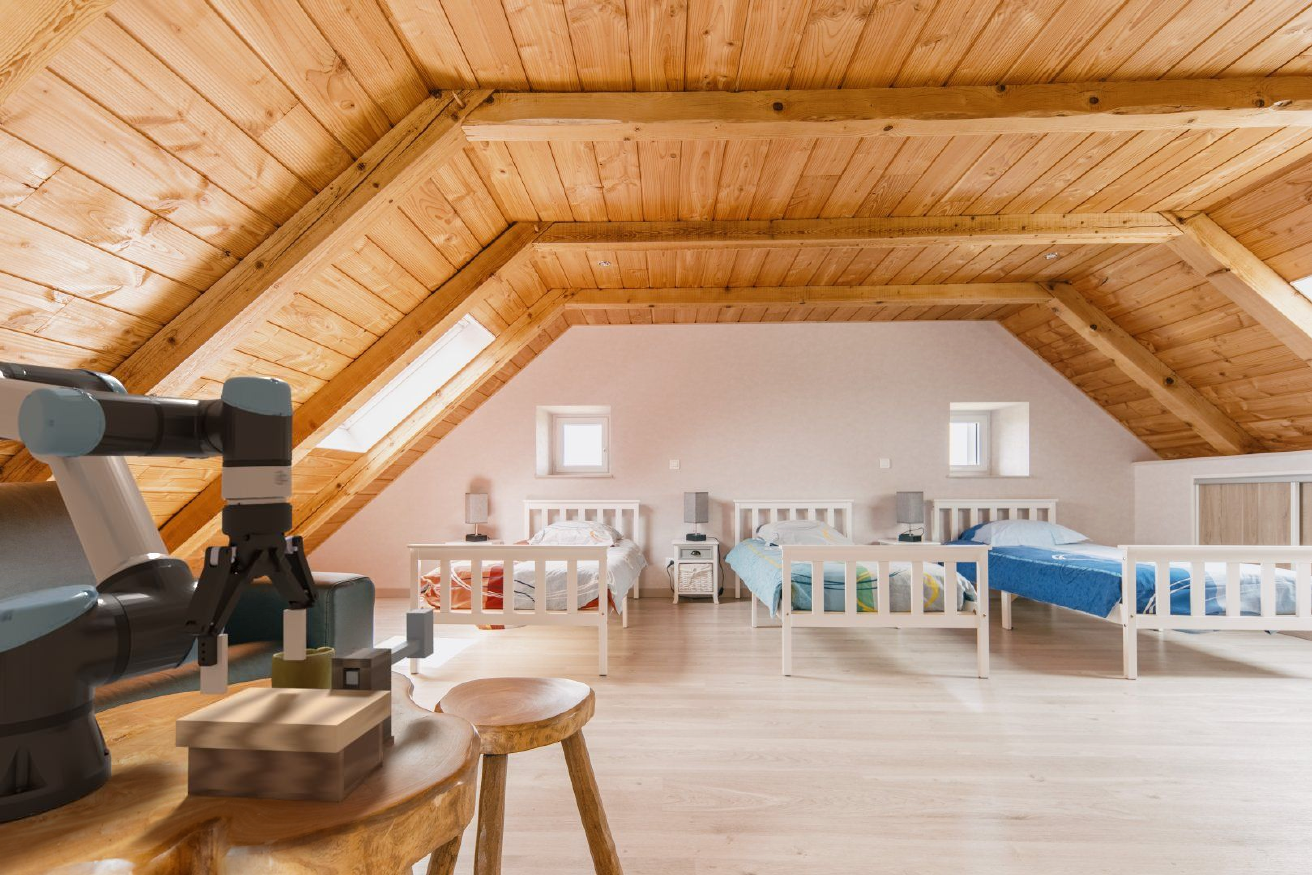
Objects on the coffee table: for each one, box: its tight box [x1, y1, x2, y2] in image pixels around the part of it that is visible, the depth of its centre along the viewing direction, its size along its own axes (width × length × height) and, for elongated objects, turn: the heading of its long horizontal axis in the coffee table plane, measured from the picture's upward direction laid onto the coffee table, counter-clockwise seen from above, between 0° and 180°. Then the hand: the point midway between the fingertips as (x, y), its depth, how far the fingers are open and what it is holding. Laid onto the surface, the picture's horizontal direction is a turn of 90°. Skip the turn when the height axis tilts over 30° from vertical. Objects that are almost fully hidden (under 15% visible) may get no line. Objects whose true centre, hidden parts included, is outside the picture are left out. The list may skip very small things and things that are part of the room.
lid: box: [175, 686, 392, 753], centre depth 81 cm, size 20×12×4 cm, turn 83°
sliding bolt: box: [346, 608, 434, 684], centre depth 97 cm, size 3×20×7 cm, turn 172°
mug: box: [270, 646, 336, 689], centre depth 110 cm, size 12×10×10 cm
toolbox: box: [187, 647, 395, 803], centre depth 84 cm, size 19×16×13 cm
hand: (257, 675), depth 81 cm, fingers open, 13 cm apart
